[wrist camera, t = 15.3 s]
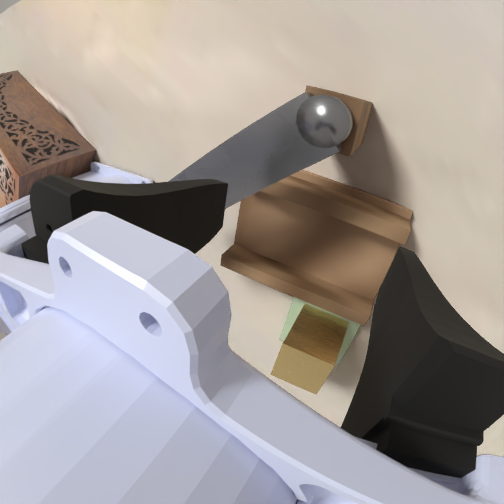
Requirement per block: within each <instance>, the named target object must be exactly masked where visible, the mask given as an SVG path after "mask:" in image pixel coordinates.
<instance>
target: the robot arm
mask: <svg viewBox="0 0 504 504" xmlns="http://www.w3.org/2000/svg"><path fill="white" fill-rule="evenodd" d="M90 167H91V171H89V172H86V173H84V174H81V175H78V176H76V177H73V178H69V177H64V176H59V175H48V176H46V177H44V178H41V179H39V180H36V181H34V183H33V185H32V187H31V190H30V195H28V196H25V197H23V198H21V199H19V200H16V201H14V202H12V203H10V204H8V205H6V206H4V207H2V208H0V332H1V333H3V334H6V335H7V336H6V337H5V338H3V339H2V340H1V341H0V504H504V457H502V456H496V455H491V454H482V455H478V456H476V455H477V446H479V445H481V444H482V442H483V431H484V430H486V429H487V428H488V427H489V426H491V425H492V424H493V423H494V422H495V421H496V420H498V419H499V418H500V417H501V416H502V415H503V414H504V354H503V353H502V352H500V351H499V350H498V349H496V348H495V347H493V346H492V345H491V344H490V343H489V342H487V341H486V340H485V339H484V338H483V337H481V336H480V335H479V334H478V333H477V332H476V331H475V330H474V329H473V328H472V327H471V326H470V325H469V324H468V323H467V322H466V321H465V320H464V319H463V318H462V317H461V316H460V315H459V314H458V313H457V312H456V310H455V309H454V308H453V307H452V306H451V304H450V303H449V302H448V301H447V300H446V298H445V297H444V296H443V294H442V293H441V291H440V290H439V289H438V287H437V286H436V284H435V283H434V281H433V280H432V278H431V277H430V275H429V274H428V272H427V270H426V269H425V267H424V266H423V264H422V263H421V261H420V260H419V258H418V257H417V255H416V254H415V253H414V252H412V251H410V250H407V249H405V248H402V247H400V246H399V249H398V251H397V253H396V255H395V257H394V260H393V262H392V264H391V266H390V268H389V271H388V273H387V275H386V277H385V279H384V281H383V283H382V285H381V287H380V289H379V293H378V296H377V300H376V304H375V307H374V312H373V319H372V326H371V332H370V339H369V345H368V350H367V356H366V360H365V364H364V367H363V370H362V374H361V377H360V380H359V383H358V385H357V388H356V391H355V394H354V396H353V399H352V402H351V404H350V407H349V409H348V412H347V414H346V416H345V419H344V421H343V424H342V426H341V428H340V427H339V426H337V425H336V424H334V423H332V422H331V421H329V420H328V419H326V418H325V417H323V416H322V415H320V414H319V413H317V412H316V411H314V410H313V409H311V408H310V407H308V406H307V405H305V404H304V403H303V402H301V401H300V400H298V399H297V398H295V397H294V396H292V395H291V394H290V393H288V392H287V391H285V390H284V389H283V388H281V387H280V386H278V385H277V384H276V383H274V382H273V381H272V380H270V379H269V378H267V377H266V376H265V375H263V374H262V373H261V372H259V371H258V370H257V369H255V368H254V367H253V366H251V365H250V364H249V363H247V362H246V361H245V360H244V359H242V358H241V357H240V356H238V355H237V354H236V353H234V352H233V351H232V350H231V348H230V347H229V345H228V332H229V326H230V320H231V309H230V301H229V294H228V291H227V289H226V288H225V286H224V284H223V283H222V281H221V280H220V278H219V277H218V275H217V274H216V272H215V271H214V269H213V268H212V266H210V265H209V264H208V263H206V262H205V261H203V260H202V259H201V258H199V257H198V256H197V255H195V253H197V252H198V251H199V250H200V249H201V248H203V247H204V246H205V245H206V244H207V243H208V242H210V240H211V239H212V238H213V237H214V236H215V235H216V234H217V233H218V231H219V230H220V229H221V228H222V226H223V219H224V211H225V204H226V197H227V190H228V183H225V182H222V181H219V180H215V179H195V180H184V181H173V182H161V183H153V181H152V180H151V179H148V178H145V177H142V176H139V175H136V174H133V173H130V172H127V171H124V170H121V169H117V168H114V167H111V166H108V165H105V164H102V163H98V162H92V163H91V166H90Z"/></svg>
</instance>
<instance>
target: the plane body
mask: <svg viewBox="0 0 504 504" xmlns="http://www.w3.org/2000/svg"><path fill="white" fill-rule="evenodd" d="M305 92H308V93H313V95H314V96H315V95H329V96H334V97H337V98H339V99H341V100H342V101H344V102H345V103H346V104H347V105H348V106H349V108H350V110H351V112H352V114H353V119H354V125H353V129H352V132H351V134H350V135H349V137H348V138H347V139H346V140H344V141H343V142H341V144H342V146H343V149H342V150H341V151H340V152H338V153H341V154H344V155H347V156H351V155H352V154H353V153H354V152H355V151H356V149H357V148H358V147H359V146H360V145H361V144H362V142H363V139H364V135H365V131H366V127H367V123H368V119H369V116H370V112H371V108H372V103H371V102H368V101H365V100H362V99H358V98H355V97H352V96H348V95H345V94H341V93H337V92H333V91H330V90H325V89H321V88H316V87H311V86H306V91H305ZM412 214H413V211H412V210H410V209H407V208H405V207H402V206H400V205H397V204H395V203H393V202H390V201H387V200H385V199H382V198H380V197H377V196H375V195H372V194H369V193H367V192H364V191H361V190H359V189H356V188H353V187H351V186H348V185H345V184H342V183H339V182H336V181H334V180H331V179H328V178H325V177H322V176H319V175H316V174H313V173H310V172H307V171H304V170H300V171H298V172H296V173H294V174H292V175H290V176H288V177H286V178H284V179H282V180H280V181H278V182H276V183H274V184H272V185H270V186H268V187H266V188H264V189H262V190H260V191H258V192H256V193H254V194H252V195H251V196H249V197H247V198H245V199H243V200H241V204H240V210H239V217H238V223H237V229H236V235H235V242H234V245H232V246H231V247H230V248H229V249H228V250H227V251H226V252H224V253H223V254H222V257H221V266H223V267H226V268H228V269H230V270H232V271H235V272H237V273H239V274H242V275H244V276H246V277H249V278H251V279H253V280H256V281H258V282H260V283H263V284H265V285H267V286H270V287H272V288H274V289H277V290H279V291H281V292H284V293H286V294H288V295H291V296H293V297H296V298H298V299H300V300H303V301H305V302H307V303H310V304H312V305H315V306H317V307H319V308H322V309H324V310H327V311H329V312H332V313H334V314H336V315H339V316H341V317H344V318H346V319H349V320H351V321H354V322H356V323H359V324H361V325H363V326H365V325H366V323H367V321H368V319H369V317H370V314H371V310H372V305H373V300H374V298H375V296H376V294H377V292H378V290H379V288H380V286H381V284H382V282H383V280H384V278H385V276H386V274H387V272H388V270H389V267H390V265H391V263H392V261H393V259H394V256H395V254H396V252H397V250H398V247H399V245H400V243H401V244H403V245H405V244H406V242H407V239H408V237H409V235H410V232H411V225H410V219H411V216H412Z"/></svg>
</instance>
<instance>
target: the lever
mask: <svg viewBox="0 0 504 504" xmlns="http://www.w3.org/2000/svg"><path fill="white" fill-rule="evenodd" d="M353 125H354V119H353V114H352V112H351V110H350V108H349V106H348V105H347V104H346V103H345V102H344V101H342V100H341V99H339V98H337V97H334V96H329V95H315V96H314V95H313V93H308V92H305V93H303V94H301V95H299V96H298V97H296V98H294V99H292V100H291V101H289V102H287V103H286V104H284V105H282V106H281V107H279V108H277V109H275V110H274V111H272V112H271V113H269V114H267V115H266V116H264V117H262V118H261V119H259V120H257V121H256V122H254V123H253V124H251V125H250V126H248V127H246V128H245V129H243V130H242V131H240V132H239V133H237V134H236V135H234V136H233V137H231V138H230V139H228V140H226V141H225V142H224V143H222V144H221V145H219V146H218V147H216V148H215V149H213V150H212V151H210V152H209V153H207V154H206V155H205V156H203V157H202V158H200V159H199V160H197V161H196V162H195V163H193V164H192V165H190V166H189V167H188V168H186V169H185V170H183V171H182V172H181V173H179V174H178V175H177V176H175V177H174V178H173V179H171V180H170V181H169V182H173V181H184V180H195V179H215V180H219V181H222V182H225V183H228V190H227V197H226V204H225V209H226V208H228V207H229V206H231V205H233V204H235V203H237V202H239V201H241V200H243V199H245V198H247V197H249V196H251V195H252V194H254V193H256V192H258V191H260V190H262V189H264V188H266V187H268V186H270V185H272V184H274V183H276V182H278V181H280V180H282V179H284V178H286V177H288V176H290V175H292V174H294V173H296V172H298V171H300V170H302V169H304V168H306V167H309V166H311V165H313V164H315V163H317V162H319V161H321V160H323V159H325V158H327V157H329V156H332V155H334V154H336V153H338V152H340V151H341V150H342V149H343V146H342V144H341V142H343V141H344V140H346V139H347V138H348V137H349V135H350V134H351V132H352V129H353Z"/></svg>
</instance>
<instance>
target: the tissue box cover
mask: <svg viewBox="0 0 504 504" xmlns="http://www.w3.org/2000/svg"><path fill="white" fill-rule="evenodd" d="M95 152H96V149H95V148H94V147H93V146H92V145H91V144H90V143H89V142H88V141H87V140H86V139H85V138H84V137H83V136H82V135H81V134H80V133H79V132H78V131H77V130H76V129H75V128H74V127H73V126H72V125H71V124H69V123H68V122H67V121H66V120H65V119H64V118H63V117H62V116H61V115H60V114H59V113H58V112H57V111H56V110H55V109H54V108H53V107H52V106H51V105H50V104H49V102H48V101H47V100H46V99H45V98H44V97H43V96H42V95H41V94H40V93H39V92H38V91H37V90H36V89H35V88H34V87H33V86H32V85H31V84H30V83H29V82H28V81H27V80H26V79H25V78H24V77H23V76H22V75H21V74H20V73H19V72H18V71H12V72H7V73H2V74H0V208H2V207H4V206H6V205H8V204H10V203H12V202H14V201H16V200H19V199H21V198H23V197H25V196H28V195H30V190H31V187H32V185H33V183H34V181H36V180H39V179H41V178H44V177H46V176H48V175H59V176H64V177H69V178H73V177H76V176H78V175H81V174H84V173H86V172H89V171H91V167H90V166H91V163H92V162H93V159H94V156H95Z"/></svg>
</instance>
